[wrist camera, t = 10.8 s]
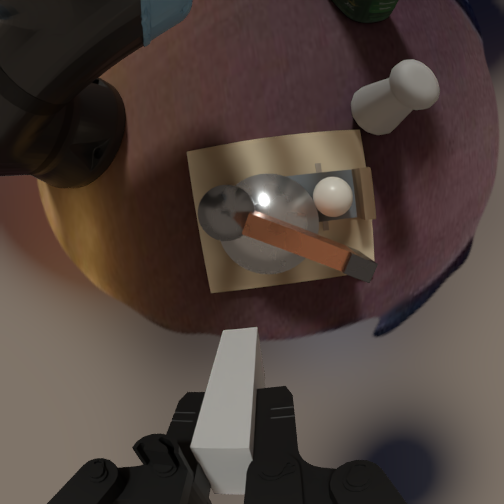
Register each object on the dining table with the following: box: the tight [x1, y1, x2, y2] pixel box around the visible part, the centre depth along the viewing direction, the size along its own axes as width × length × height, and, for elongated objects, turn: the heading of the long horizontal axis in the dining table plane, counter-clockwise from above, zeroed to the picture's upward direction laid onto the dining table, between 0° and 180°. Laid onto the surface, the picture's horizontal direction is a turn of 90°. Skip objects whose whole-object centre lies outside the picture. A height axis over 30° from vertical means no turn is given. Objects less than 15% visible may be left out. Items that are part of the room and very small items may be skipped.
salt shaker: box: [351, 59, 440, 135], centre depth 22 cm, size 6×6×13 cm
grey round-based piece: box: [198, 174, 378, 283], centre depth 26 cm, size 10×16×7 cm, turn 70°
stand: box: [187, 130, 376, 293], centre depth 29 cm, size 19×16×4 cm
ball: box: [313, 177, 353, 217], centre depth 27 cm, size 4×4×4 cm
